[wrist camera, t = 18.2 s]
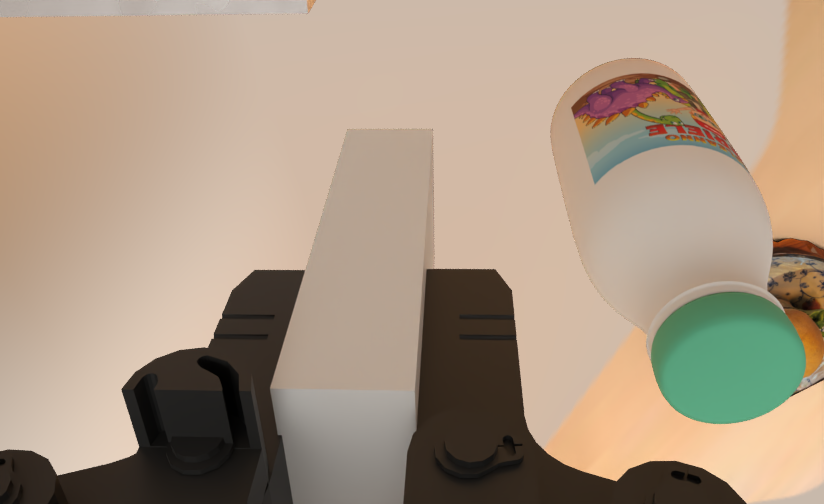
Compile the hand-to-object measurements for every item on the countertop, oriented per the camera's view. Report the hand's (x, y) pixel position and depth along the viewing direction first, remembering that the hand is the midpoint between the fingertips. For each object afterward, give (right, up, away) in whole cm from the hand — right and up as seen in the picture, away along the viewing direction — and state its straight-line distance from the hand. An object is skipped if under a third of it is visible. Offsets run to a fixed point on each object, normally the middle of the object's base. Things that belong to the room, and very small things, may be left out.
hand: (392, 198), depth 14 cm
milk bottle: (+12, +6, +27) cm, 30 cm away
